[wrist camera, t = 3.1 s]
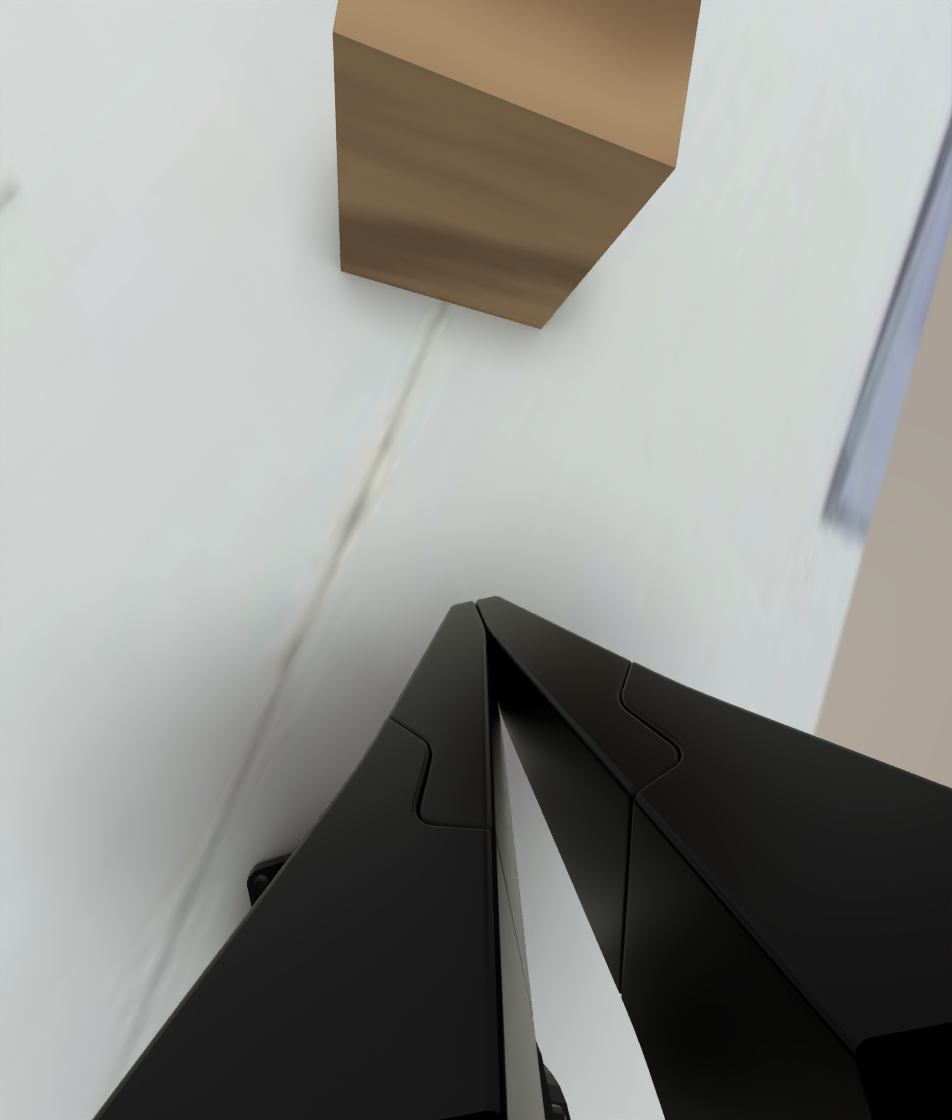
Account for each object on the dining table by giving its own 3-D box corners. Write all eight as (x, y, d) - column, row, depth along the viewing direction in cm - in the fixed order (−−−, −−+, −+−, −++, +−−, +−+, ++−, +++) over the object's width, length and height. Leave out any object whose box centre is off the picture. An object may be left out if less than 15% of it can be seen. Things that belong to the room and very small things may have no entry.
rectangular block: (540, 328, 23) (675, 167, 14) (340, 270, 21) (332, 31, 12) (583, 58, 24) (744, -284, 14) (391, -26, 22) (425, -496, 12)
